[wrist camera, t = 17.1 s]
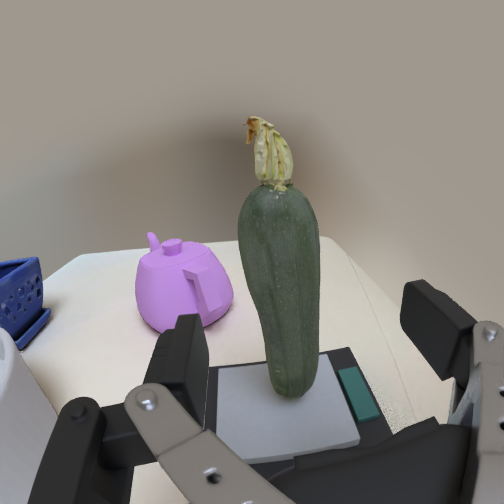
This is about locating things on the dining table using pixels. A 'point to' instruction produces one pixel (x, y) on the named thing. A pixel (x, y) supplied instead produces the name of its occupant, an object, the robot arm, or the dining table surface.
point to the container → (20, 424)
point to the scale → (293, 412)
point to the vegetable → (282, 264)
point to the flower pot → (22, 299)
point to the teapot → (180, 283)
